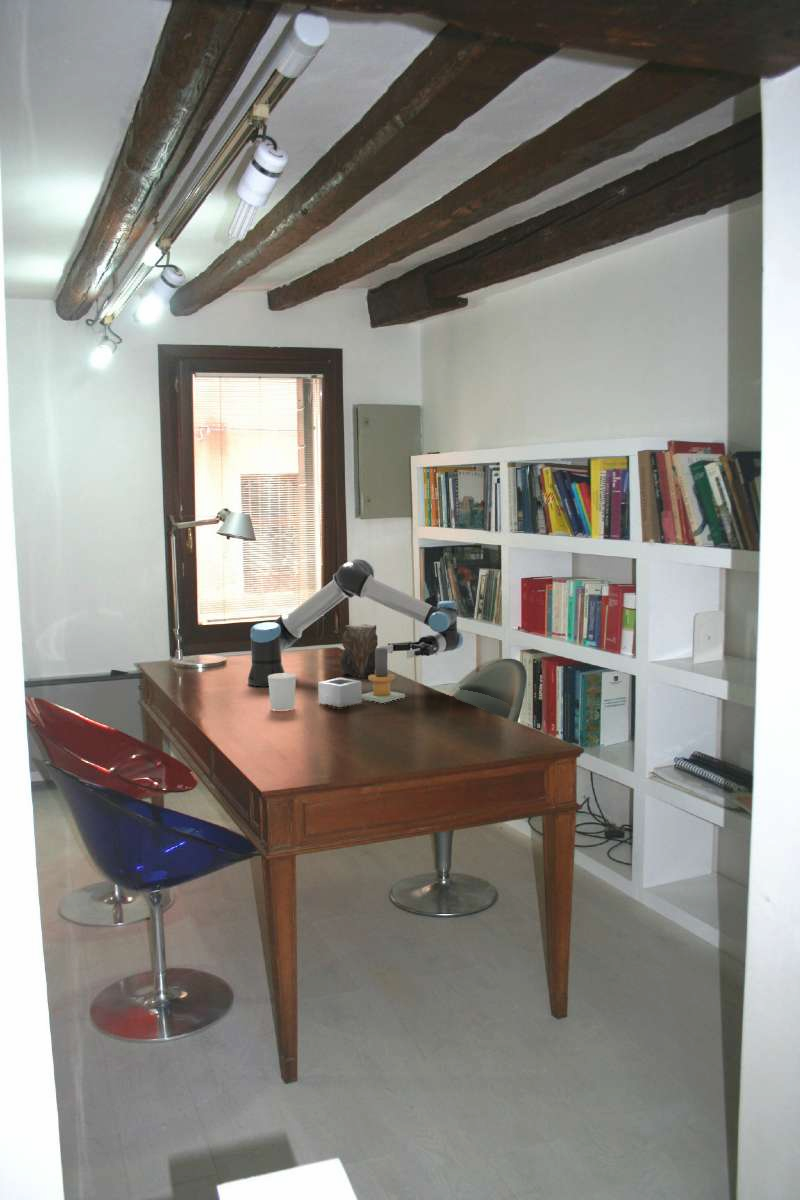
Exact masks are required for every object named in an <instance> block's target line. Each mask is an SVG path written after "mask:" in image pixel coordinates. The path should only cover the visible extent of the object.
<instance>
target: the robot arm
mask: <svg viewBox="0 0 800 1200" xmlns="http://www.w3.org/2000/svg"><path fill="white" fill-rule="evenodd" d="M355 596H356V597H358V598H360V599H362V598H367V599H369V600H371V601H374V602H376V603H377V604H378V603H379V604H380V605H382V606H384V607H385V608H386V607H387V608H389V609H391V610H393V611H395V612H397V613H400V614H402V615H404V616H407V617H409V618H411V619H413V620H416V621H417V622H419V623H421V624H424V625H426V626H428V627H429V628H430V629H431V630H432V631H433V632H436V633H432V634H429V635H423V636H421V637H420V638H419V639H418V640H417V641H414V642H413V641H406V642H394V643H393V642H392V643H387V645H383V646H380V647H379V648H387V654H392V653H394V652H400V651H401V652H403V651H406V658H407V659H412V658H417V657H420V656H423V657H424V656H427V657H429V656H433V655H438V654H441V653H444V652H452V651H454V650H457V649H459V648H461V646H462V645H463V641H464V639H463V635H462V633H461V632H460V631H459V630H458V608H457V602H456V601H454V600H441V601H439V602H437V607H436V606H434V605H431V604H429V603H428V602H425V601H423V600H421V599H419V598H416V597H414V596H412V595H410V594H408V593H405V592H403V591H401V590H399V589H397V588H394V587H392V586H390V585H388V584H385V583H383V582H382V581H379V580H377V579H375V569H374V567H373V566H372V564H371V563H370V562H369V561H367V560H366V559H362V558H356V559H355V558H354V559H352V560H350V561H347V562H345V563H343V564H341V565H340V567H339V568H338V569H337V571H336V572H335V573H334V574H333V575H332V580H331V581H330V582H328V583H327V584H326V585H325V586H323V587H322V588H321V589H320V590H318V591H317V592H316V593H315V594H313V595H311V597H310V598H308V599H307V600H306V601H304V602H303V603H302V604H300V605H299V606H298V607H297V608H296V609H294V610H293V611H291V612H290V613H289V614H286V613H284V614H281V615H280V616H279V617H278V618H277V619H275V620H273V621H267V622H266V621H265V622H261V623H256V624H254V625H253V626H252V627H251V628H250V652H251V653H250V655H251V666H250V669H249V673H248V677H247V685H248V684H250V685H249V686H251V685H253V686H252V687H256V686H261V687H260V688H266V687H267V686H269V683H268V676H269V675H271V674H277V673H286V672H285V669H284V667H283V664H282V651H285V650H287V649H289V648H290V647H292V646H293V644H294V643H295V642H296V641H297V640H299V639H300V638H301V637H302V634H303V631H305V629H307V628H309V627H310V626H311V625H312V624H313V623H315V622H316V621H317V620H319V619H320V618H321V617H323V616H324V615H326V613H327V612H329V611H330V610H332V609H333V608H334V607H335V606H337V605H338V604H339V603H340V602H342V601H343V600H345V599H346V598H348V599H351V598H353V597H355ZM267 688H268V687H267Z"/></svg>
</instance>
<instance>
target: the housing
mask: <svg viewBox="0 0 800 1200" xmlns="http://www.w3.org/2000/svg"><path fill="white" fill-rule="evenodd" d="M362 684H363V682H362V680H359V679H358V680H356V679H351V678H346V677H336V678H332V679H328V680H323V681H318V684H317V686H318V687H317V690H318V691H317V692H318V704H319V703H322V704H328V705H333V706H337V707H343V706H347V705H351V704H355V703H360V702H362V703H363V700H362V694H363V685H362ZM360 704H361V703H360Z"/></svg>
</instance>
